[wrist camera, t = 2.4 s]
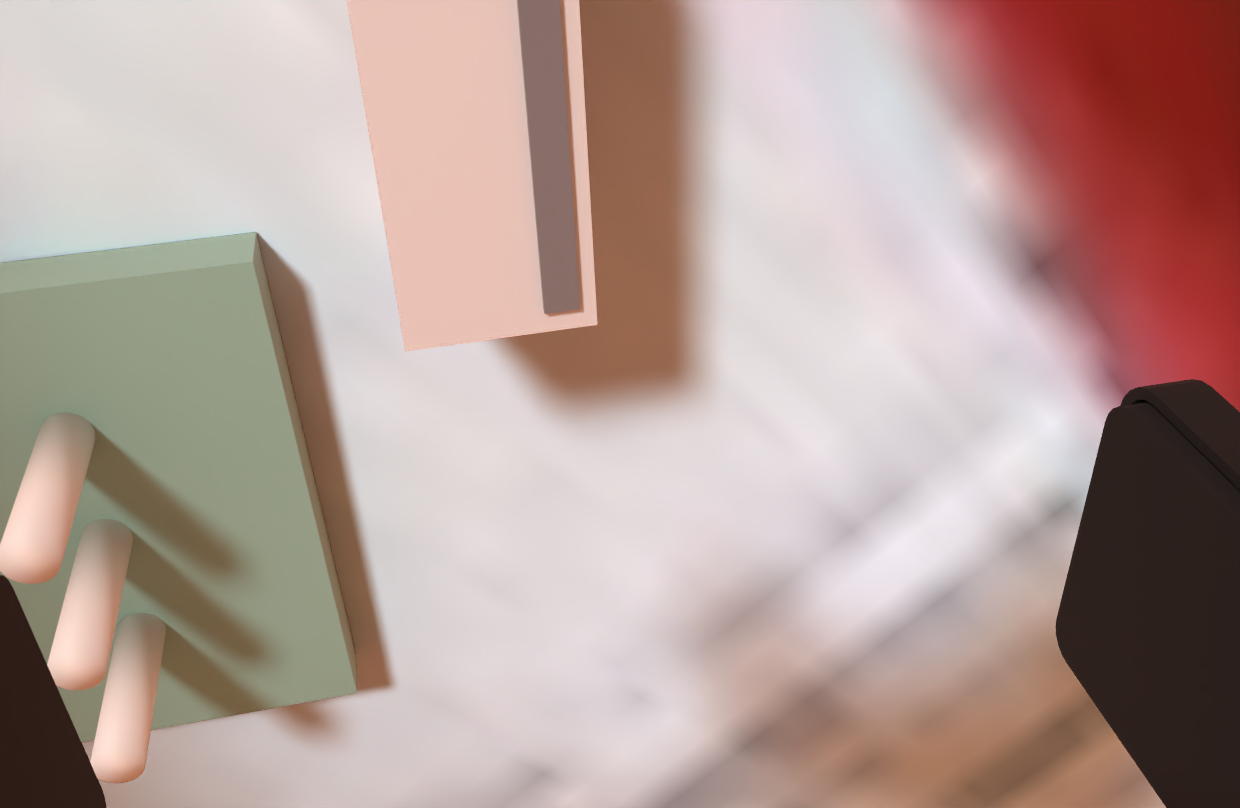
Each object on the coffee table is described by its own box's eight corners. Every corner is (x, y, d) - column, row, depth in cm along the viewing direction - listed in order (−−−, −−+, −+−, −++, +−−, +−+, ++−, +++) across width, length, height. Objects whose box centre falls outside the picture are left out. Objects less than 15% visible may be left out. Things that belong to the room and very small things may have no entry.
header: (-212, 288, 26) (-337, 449, 21) (255, 232, 27) (240, 369, 22) (3, 716, 34) (-51, 904, 29) (356, 655, 35) (360, 824, 30)
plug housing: (310, -280, 22) (305, -243, 17) (513, -292, 23) (566, -260, 18) (391, 219, 28) (405, 355, 23) (551, 200, 28) (598, 329, 23)
